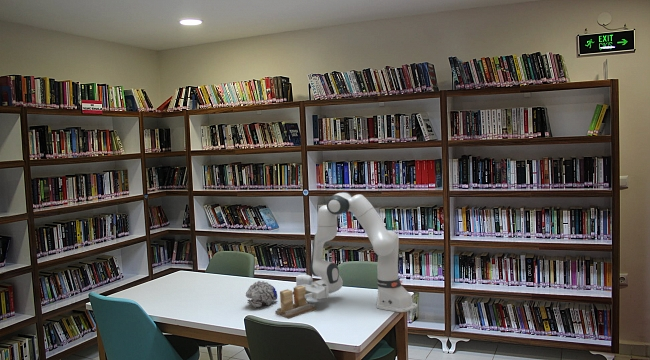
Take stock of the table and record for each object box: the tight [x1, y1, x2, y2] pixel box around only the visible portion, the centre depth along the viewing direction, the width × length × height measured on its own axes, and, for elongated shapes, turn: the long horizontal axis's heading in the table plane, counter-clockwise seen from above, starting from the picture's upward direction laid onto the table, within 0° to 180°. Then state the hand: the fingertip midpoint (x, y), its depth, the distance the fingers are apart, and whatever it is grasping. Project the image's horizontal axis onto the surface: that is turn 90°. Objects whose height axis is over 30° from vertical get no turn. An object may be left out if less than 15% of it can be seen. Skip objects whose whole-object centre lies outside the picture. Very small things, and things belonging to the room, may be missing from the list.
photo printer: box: [295, 273, 314, 286], centre depth 306 cm, size 10×4×12 cm, turn 61°
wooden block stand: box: [274, 288, 317, 319], centre depth 278 cm, size 12×18×12 cm, turn 131°
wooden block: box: [292, 286, 308, 308], centre depth 280 cm, size 4×6×11 cm
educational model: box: [245, 280, 278, 309], centre depth 292 cm, size 14×20×15 cm
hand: (298, 294), depth 279 cm, fingers open, 8 cm apart
